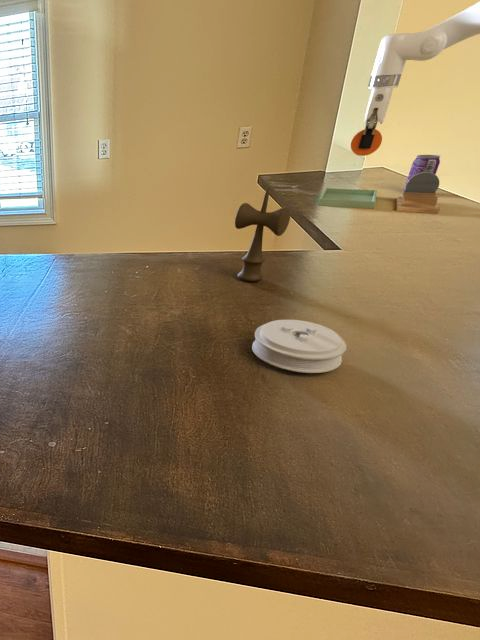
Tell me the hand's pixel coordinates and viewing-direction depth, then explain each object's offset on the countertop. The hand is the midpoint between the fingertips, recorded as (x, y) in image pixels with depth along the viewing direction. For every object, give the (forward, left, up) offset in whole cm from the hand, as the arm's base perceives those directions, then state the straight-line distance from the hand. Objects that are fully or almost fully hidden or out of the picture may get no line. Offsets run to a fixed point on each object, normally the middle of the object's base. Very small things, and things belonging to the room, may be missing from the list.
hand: (364, 147), depth 154 cm
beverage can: (-22, -13, -17) cm, 31 cm away
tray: (+1, 0, -17) cm, 17 cm away
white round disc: (+33, +119, -17) cm, 124 cm away
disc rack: (-16, +8, -17) cm, 25 cm away
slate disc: (-17, +4, -11) cm, 21 cm away
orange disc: (0, 0, +2) cm, 2 cm away
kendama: (+37, +83, -17) cm, 92 cm away
